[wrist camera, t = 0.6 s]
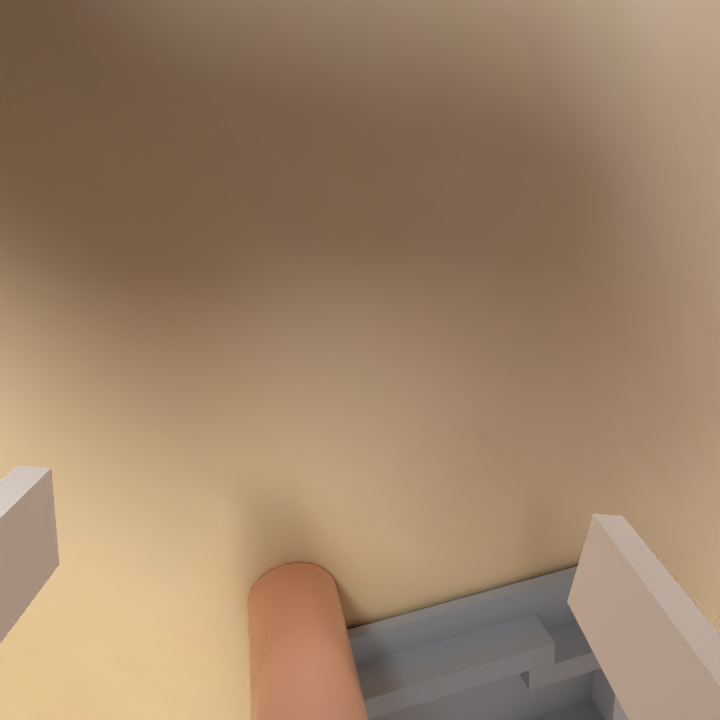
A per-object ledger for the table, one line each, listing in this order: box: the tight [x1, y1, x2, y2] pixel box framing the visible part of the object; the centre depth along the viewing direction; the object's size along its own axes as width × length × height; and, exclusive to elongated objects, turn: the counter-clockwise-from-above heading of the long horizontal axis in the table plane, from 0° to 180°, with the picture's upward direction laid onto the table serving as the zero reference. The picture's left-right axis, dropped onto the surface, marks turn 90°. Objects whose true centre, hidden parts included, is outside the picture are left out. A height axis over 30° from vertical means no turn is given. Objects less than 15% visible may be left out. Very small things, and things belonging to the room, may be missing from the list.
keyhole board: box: [347, 566, 628, 720], centre depth 31 cm, size 16×19×3 cm
